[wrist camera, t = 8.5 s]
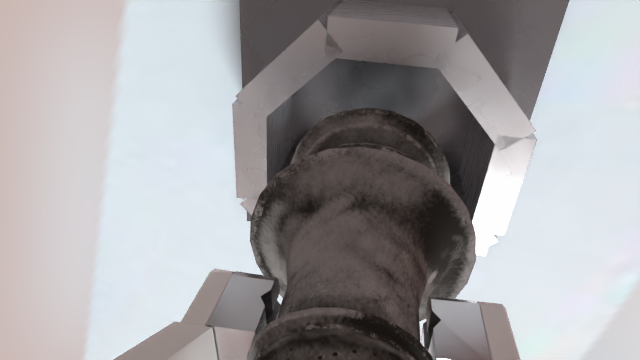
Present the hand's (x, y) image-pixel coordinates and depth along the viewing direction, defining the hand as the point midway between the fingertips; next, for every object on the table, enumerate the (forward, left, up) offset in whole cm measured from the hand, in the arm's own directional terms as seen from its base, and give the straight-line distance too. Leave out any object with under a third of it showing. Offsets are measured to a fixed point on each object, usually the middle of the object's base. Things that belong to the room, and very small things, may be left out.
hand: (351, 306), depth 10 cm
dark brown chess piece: (0, 0, -6) cm, 6 cm away
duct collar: (0, 0, -11) cm, 11 cm away
